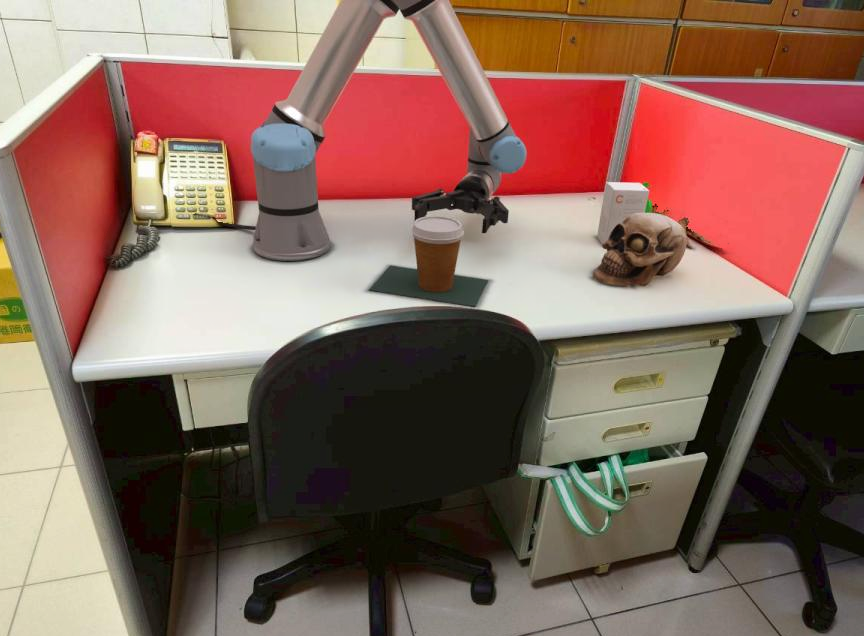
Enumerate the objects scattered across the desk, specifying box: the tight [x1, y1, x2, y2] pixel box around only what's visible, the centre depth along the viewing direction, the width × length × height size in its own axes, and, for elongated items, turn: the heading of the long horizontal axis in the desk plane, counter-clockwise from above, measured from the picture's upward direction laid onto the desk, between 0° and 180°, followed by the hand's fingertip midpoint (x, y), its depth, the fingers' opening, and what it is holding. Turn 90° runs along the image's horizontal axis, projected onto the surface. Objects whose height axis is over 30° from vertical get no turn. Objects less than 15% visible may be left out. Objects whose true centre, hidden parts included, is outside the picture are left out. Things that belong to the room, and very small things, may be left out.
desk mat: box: [368, 265, 489, 308], centre depth 118 cm, size 20×12×1 cm, turn 77°
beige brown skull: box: [592, 212, 687, 287], centre depth 126 cm, size 16×17×13 cm
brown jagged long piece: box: [678, 217, 718, 249], centre depth 147 cm, size 9×5×18 cm
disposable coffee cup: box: [410, 215, 465, 292], centre depth 115 cm, size 10×10×12 cm
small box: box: [596, 181, 650, 245], centre depth 141 cm, size 8×6×13 cm
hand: (449, 221), depth 121 cm, fingers open, 13 cm apart
